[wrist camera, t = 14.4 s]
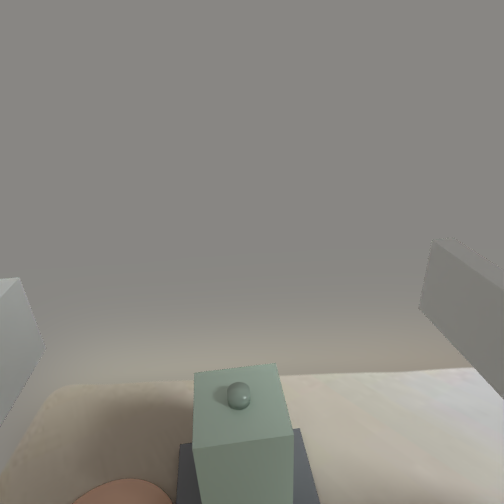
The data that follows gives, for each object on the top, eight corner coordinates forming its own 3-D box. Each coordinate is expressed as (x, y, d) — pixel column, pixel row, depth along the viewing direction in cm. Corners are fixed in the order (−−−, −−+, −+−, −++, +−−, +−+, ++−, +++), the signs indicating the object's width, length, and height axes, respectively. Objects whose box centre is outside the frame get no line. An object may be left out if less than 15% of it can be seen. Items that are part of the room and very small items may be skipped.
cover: (276, 443, 41) (275, 353, 35) (292, 520, 34) (294, 424, 28) (206, 453, 40) (193, 363, 34) (207, 534, 33) (190, 438, 27)
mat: (299, 432, 43) (299, 428, 42) (327, 538, 33) (328, 533, 33) (180, 448, 41) (180, 444, 41) (173, 563, 32) (172, 559, 31)
